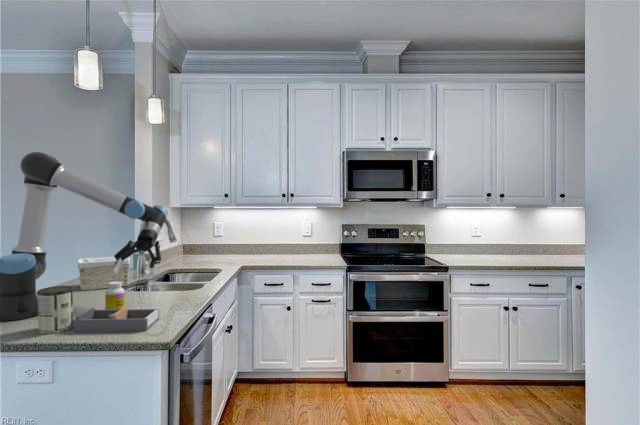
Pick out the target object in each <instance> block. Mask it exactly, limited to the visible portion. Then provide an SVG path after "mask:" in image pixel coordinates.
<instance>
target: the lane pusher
mask: <svg viewBox="0 0 640 425" xmlns="http://www.w3.org/2000/svg"><path fill="white" fill-rule="evenodd" d="M128 309H129V308H128V306H124V308H122V309H121V310H119V311H118V312H116V313H114V314H109V319H127V318H128Z"/></svg>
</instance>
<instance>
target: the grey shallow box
mask: <svg viewBox="0 0 640 425" xmlns="http://www.w3.org/2000/svg"><path fill="white" fill-rule="evenodd" d="M119 310H121V309H116V310H105V309H96V308H95V307H91V308H89V309H87V310H86V311H83V312H81V313H80V314H78V315H75V319H73V328H74V329H73V331H81V332H82V333H84V332H85V333H90V332H94V333H95V332H97V333H98V332H140V331H141V332H142V331H143V332H144V331H145V332H146V331H148V330H149V329H150V328H152V327H153V325H155V324H157V322H158V321H159V320H160V309H159V308H134V309H133V308H132V309H129V308H128V318H127V319H109V314H114V313H116V312H118V311H119ZM81 332H80V333H81Z"/></svg>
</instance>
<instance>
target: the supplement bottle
mask: <svg viewBox="0 0 640 425" xmlns="http://www.w3.org/2000/svg"><path fill="white" fill-rule="evenodd" d="M121 285H122V282H110V283H108V286H109V288H107V289H106V290H105V293H104V294H105V295H104V298H105V304H104V308H105V309H104V310H116V309H122V308H124V307H125V289H124V288H122V287H121Z"/></svg>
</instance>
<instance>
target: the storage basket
mask: <svg viewBox="0 0 640 425" xmlns="http://www.w3.org/2000/svg"><path fill="white" fill-rule="evenodd" d="M121 258H122V257H121ZM116 261H117V260H116V258H115V257H114V256H104V257H83V258H79V259H78V260H77V263H76V264H77V268H78V272H79V283H80V286H79V287H80V291H91V290H93V291H94V290H102V289H103V290H104V289H109V286H108V283H110V282H122V285H121V288H122V287H127V286H129V279H130V278H129V275H130V264H131V258H130V256H129V257H128V258H126V259H124V260H123V264H122V266H121V268H120V270H119V272H118V274H117V275H115V273H114V272H113V269H114V267H115V262H116Z"/></svg>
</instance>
